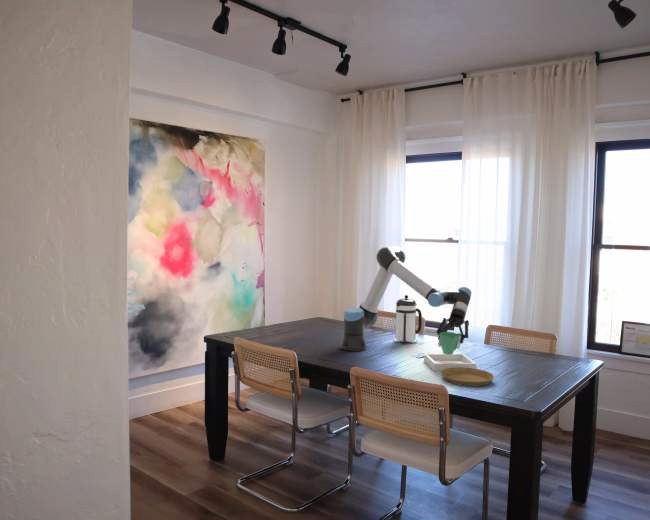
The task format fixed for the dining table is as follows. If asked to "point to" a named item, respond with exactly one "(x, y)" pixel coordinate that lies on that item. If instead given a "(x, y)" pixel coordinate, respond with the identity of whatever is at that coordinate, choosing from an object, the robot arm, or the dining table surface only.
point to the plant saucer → (467, 376)
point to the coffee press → (407, 320)
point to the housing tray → (448, 361)
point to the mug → (449, 341)
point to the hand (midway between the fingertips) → (448, 346)
